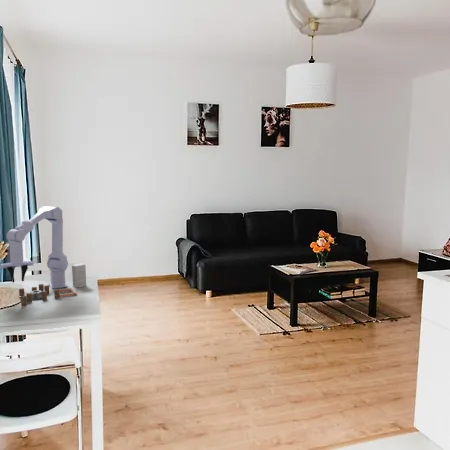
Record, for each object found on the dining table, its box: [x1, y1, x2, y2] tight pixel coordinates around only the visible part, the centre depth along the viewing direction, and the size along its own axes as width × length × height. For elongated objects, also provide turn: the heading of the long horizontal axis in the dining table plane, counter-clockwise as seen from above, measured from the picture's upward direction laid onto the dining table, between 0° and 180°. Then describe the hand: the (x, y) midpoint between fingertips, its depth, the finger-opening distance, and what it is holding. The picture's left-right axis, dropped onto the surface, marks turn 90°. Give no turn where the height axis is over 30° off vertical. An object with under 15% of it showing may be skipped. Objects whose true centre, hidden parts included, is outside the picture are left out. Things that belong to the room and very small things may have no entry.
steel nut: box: [29, 289, 42, 300], centre depth 237 cm, size 6×5×3 cm
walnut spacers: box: [18, 283, 61, 306], centre depth 238 cm, size 20×18×4 cm
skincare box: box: [71, 262, 87, 289], centre depth 258 cm, size 6×4×12 cm
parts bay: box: [58, 287, 78, 298], centre depth 245 cm, size 10×9×1 cm
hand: (18, 281), depth 232 cm, fingers open, 4 cm apart
